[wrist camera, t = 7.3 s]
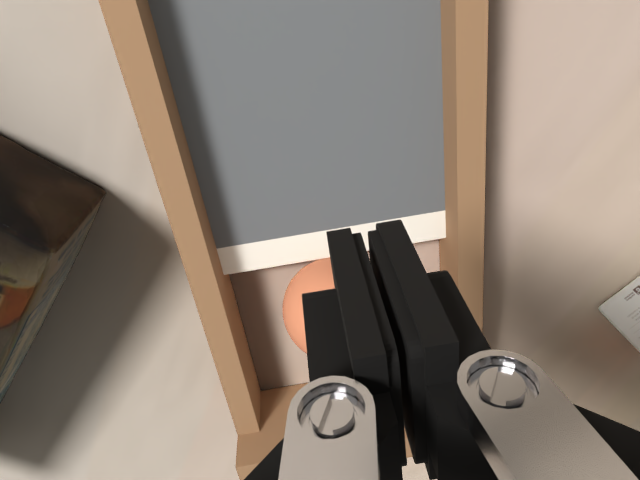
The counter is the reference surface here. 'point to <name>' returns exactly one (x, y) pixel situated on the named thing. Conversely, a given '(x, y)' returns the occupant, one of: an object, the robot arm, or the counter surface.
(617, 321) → the skincare box
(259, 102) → the lane
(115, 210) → the counter surface
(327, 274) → the ball
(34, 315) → the beverage carton
